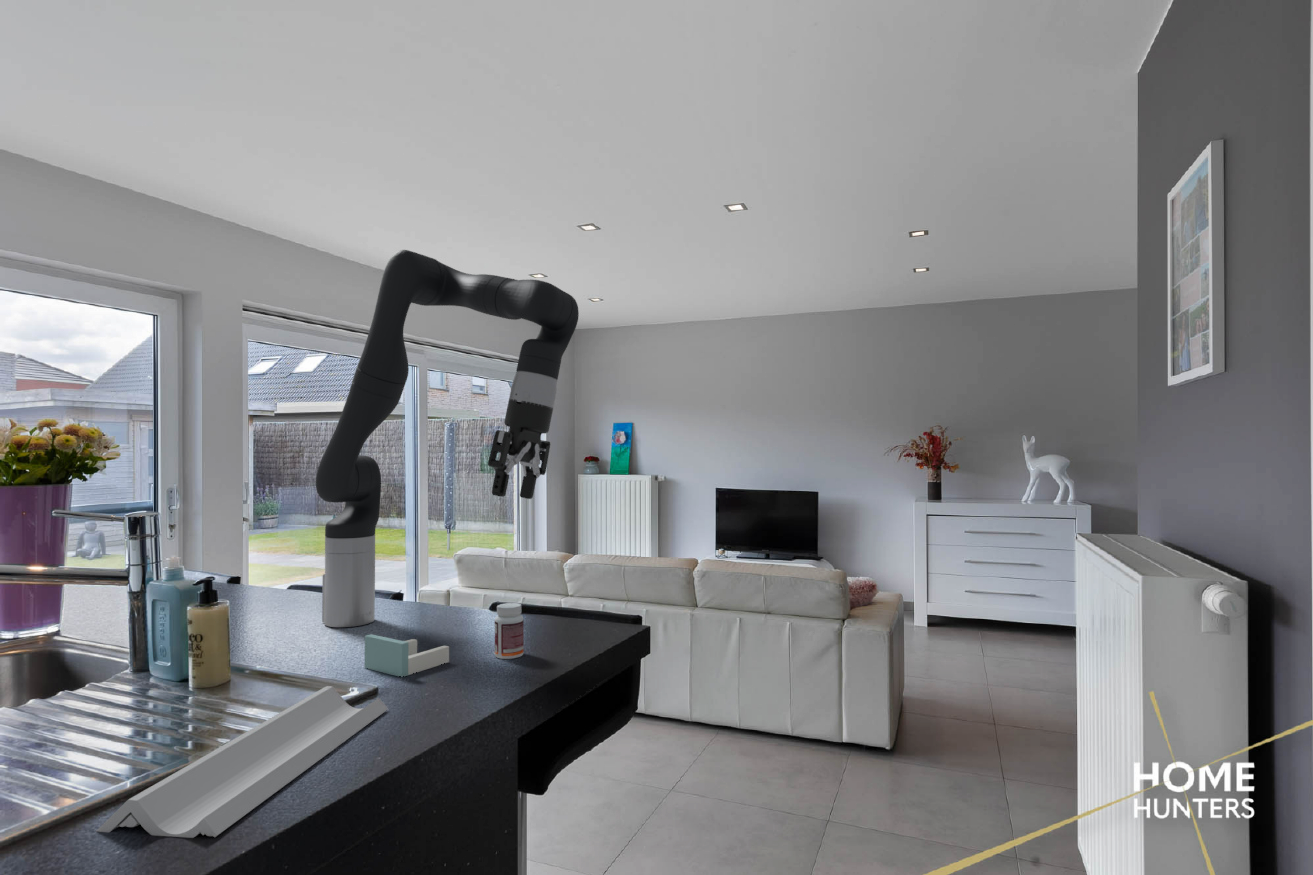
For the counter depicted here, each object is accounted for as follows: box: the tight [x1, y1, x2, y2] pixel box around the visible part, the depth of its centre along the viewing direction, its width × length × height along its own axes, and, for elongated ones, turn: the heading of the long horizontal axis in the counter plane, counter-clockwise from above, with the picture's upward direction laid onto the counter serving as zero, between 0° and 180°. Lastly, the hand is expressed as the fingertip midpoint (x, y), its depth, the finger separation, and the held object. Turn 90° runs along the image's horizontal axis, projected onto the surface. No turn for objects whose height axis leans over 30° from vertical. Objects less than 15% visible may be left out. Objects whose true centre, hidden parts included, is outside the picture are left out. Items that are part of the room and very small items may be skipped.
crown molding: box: [95, 685, 389, 839], centre depth 79 cm, size 31×12×4 cm, turn 174°
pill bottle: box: [494, 602, 525, 660], centre depth 120 cm, size 5×5×8 cm
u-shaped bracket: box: [364, 634, 450, 678], centre depth 114 cm, size 9×9×5 cm
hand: (512, 497), depth 120 cm, fingers open, 8 cm apart
